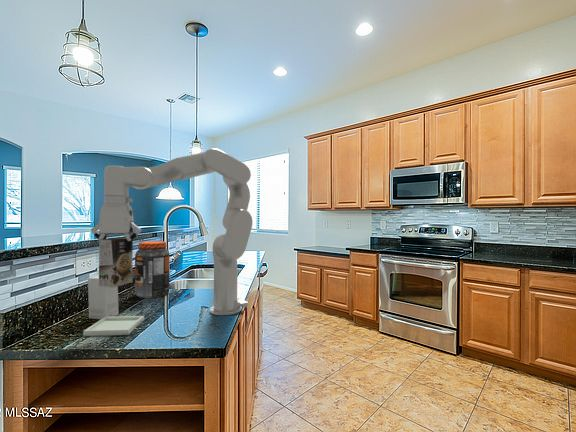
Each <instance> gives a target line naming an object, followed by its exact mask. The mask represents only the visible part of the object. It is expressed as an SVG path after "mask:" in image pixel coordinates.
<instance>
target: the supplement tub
mask: <svg viewBox="0 0 576 432" xmlns="http://www.w3.org/2000/svg"><path fill="white" fill-rule="evenodd" d="M170 257H171V255H170V250H169V249H167V241H160V240H155V241H154V240H152V241H150V240H149V241H141V242H139V243H138V250H136V252H135V254H134V294H135V296H136V297H139V298H144V299H151V298H152V299H154V298H159V297H162V296H163V297H164V296H166V295H167V294H169V292H170V279H171V278H170V276H171V275H170V272H171V271H170V266H171V265H170V264H171V262H170V259H171V258H170Z"/></svg>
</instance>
